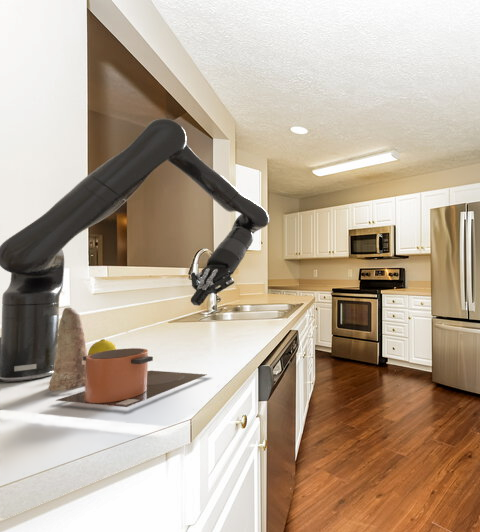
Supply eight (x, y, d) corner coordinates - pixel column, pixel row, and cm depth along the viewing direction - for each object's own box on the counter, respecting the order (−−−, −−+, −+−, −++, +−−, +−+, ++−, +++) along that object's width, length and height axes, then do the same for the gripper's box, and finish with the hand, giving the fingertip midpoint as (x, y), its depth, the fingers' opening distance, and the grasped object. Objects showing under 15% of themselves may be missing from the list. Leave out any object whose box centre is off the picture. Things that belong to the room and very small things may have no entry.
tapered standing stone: (41, 399, 69) (72, 399, 69) (33, 312, 66) (65, 313, 67) (69, 384, 75) (98, 384, 75) (63, 304, 72) (93, 305, 73)
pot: (62, 400, 63) (64, 357, 63) (113, 384, 73) (114, 346, 73) (122, 405, 61) (123, 360, 61) (166, 388, 70) (167, 349, 71)
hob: (53, 405, 63) (54, 399, 64) (149, 374, 83) (150, 369, 83) (126, 412, 61) (126, 406, 61) (207, 378, 80) (208, 374, 80)
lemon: (99, 375, 82) (100, 341, 82) (81, 373, 83) (82, 340, 84) (122, 368, 88) (122, 337, 88) (104, 367, 89) (105, 336, 89)
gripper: (201, 246, 99) (164, 292, 88) (242, 248, 97) (209, 297, 85) (214, 263, 105) (181, 309, 93) (253, 266, 102) (223, 314, 91)
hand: (194, 303), depth 89 cm, fingers closed
